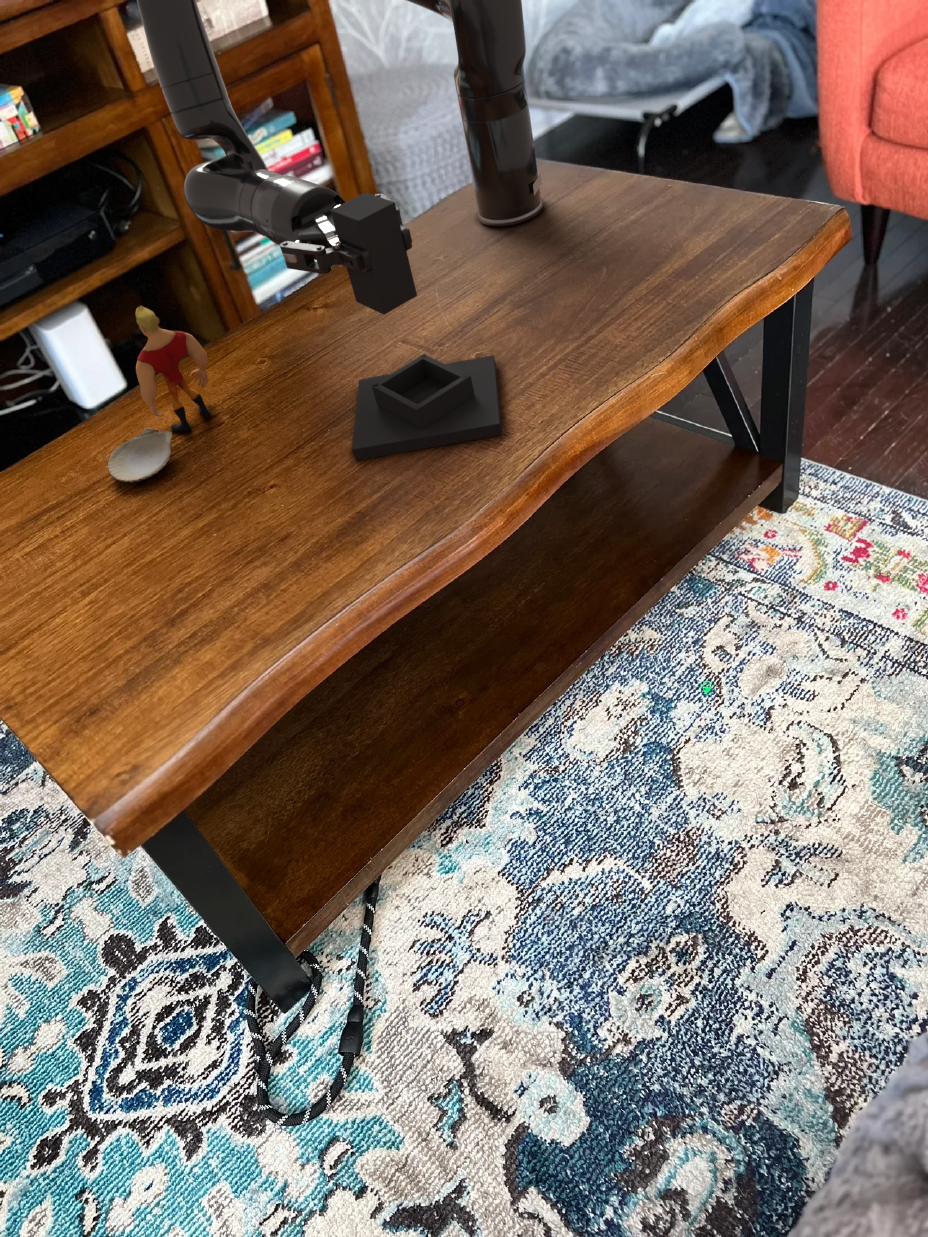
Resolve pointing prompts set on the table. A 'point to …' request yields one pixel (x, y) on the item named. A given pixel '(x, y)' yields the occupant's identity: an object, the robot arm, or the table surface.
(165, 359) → the action figure
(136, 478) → the scallop shell
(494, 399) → the socket pad
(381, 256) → the black rectangular block
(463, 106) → the robot arm
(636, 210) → the table surface
